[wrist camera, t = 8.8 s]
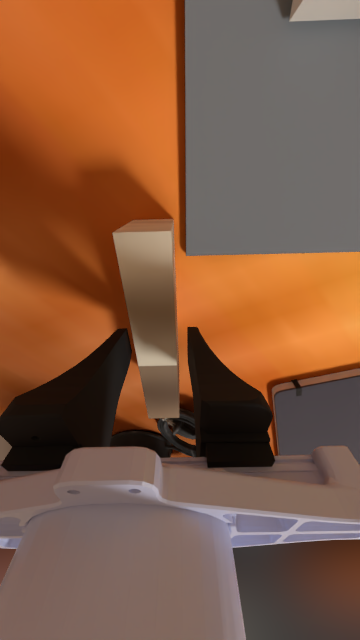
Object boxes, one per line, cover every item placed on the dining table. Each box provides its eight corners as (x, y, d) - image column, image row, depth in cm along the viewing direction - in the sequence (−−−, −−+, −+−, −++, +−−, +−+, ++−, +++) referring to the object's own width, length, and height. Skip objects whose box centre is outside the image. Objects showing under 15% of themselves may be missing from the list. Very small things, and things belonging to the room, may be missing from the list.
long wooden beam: (179, 374, 20) (179, 417, 16) (154, 375, 20) (148, 418, 16) (173, 218, 12) (171, 231, 8) (132, 219, 12) (112, 232, 8)
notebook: (362, 451, 30) (401, 353, 19) (370, 463, 29) (417, 365, 18) (277, 463, 32) (267, 380, 21) (281, 474, 31) (273, 393, 20)
